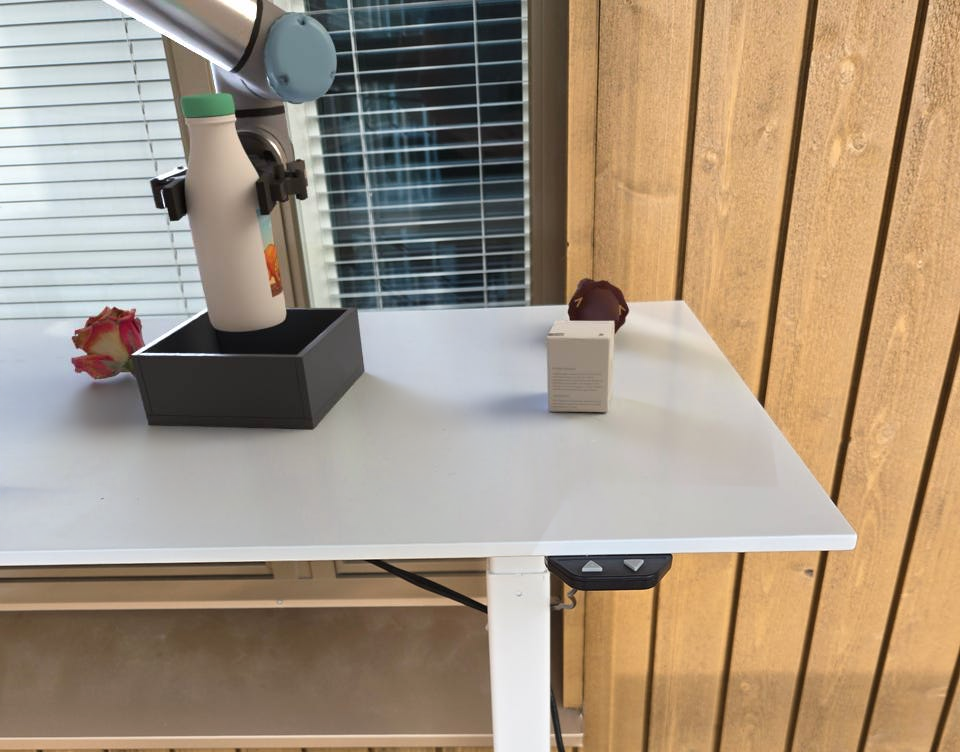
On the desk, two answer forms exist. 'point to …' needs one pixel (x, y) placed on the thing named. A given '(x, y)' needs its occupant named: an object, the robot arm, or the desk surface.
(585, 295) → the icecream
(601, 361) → the white cardboard box
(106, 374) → the flower
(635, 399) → the desk surface
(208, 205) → the milk bottle
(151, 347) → the black open box
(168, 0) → the robot arm
